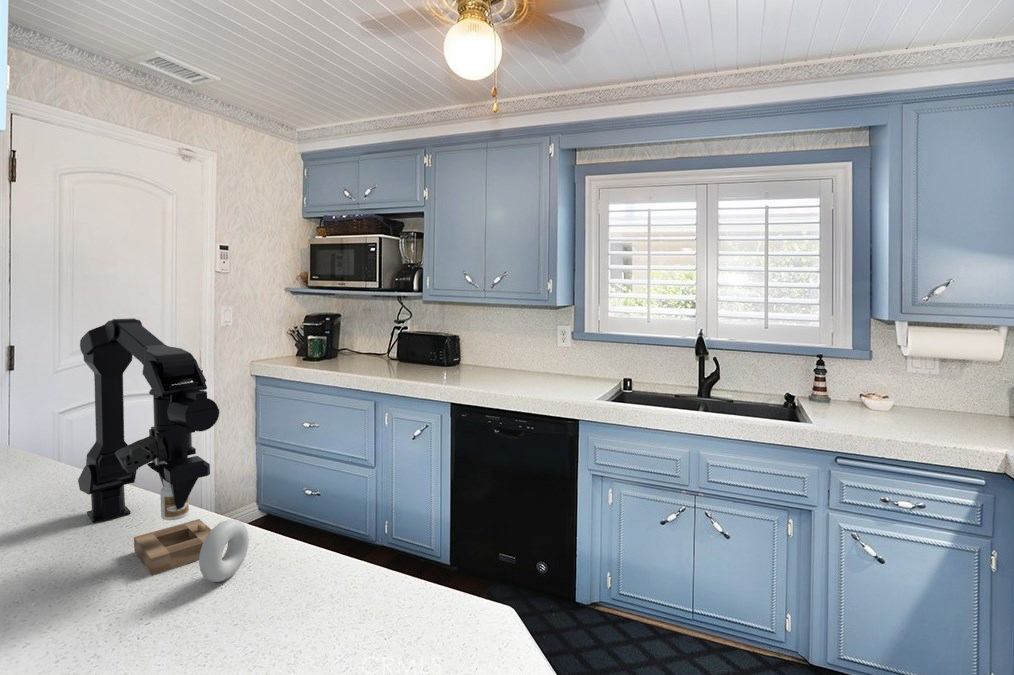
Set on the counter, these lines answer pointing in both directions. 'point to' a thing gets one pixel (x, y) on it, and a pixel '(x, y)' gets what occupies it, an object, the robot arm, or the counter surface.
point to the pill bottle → (171, 504)
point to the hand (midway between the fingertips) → (175, 504)
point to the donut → (214, 545)
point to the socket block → (171, 546)
